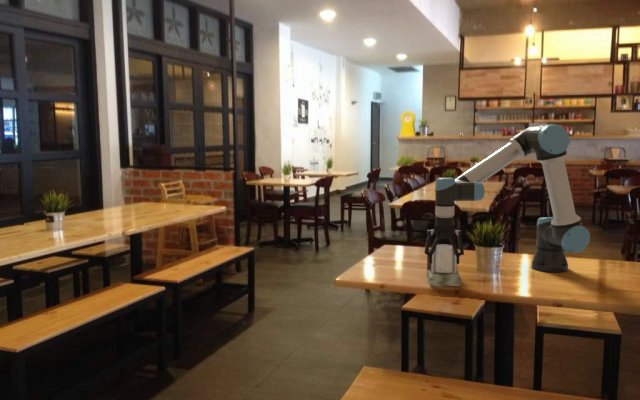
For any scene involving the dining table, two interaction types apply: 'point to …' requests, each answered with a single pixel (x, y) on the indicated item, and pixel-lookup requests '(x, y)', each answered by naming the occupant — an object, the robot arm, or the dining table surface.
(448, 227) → the robot arm
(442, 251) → the mug
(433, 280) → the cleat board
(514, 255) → the dining table surface
